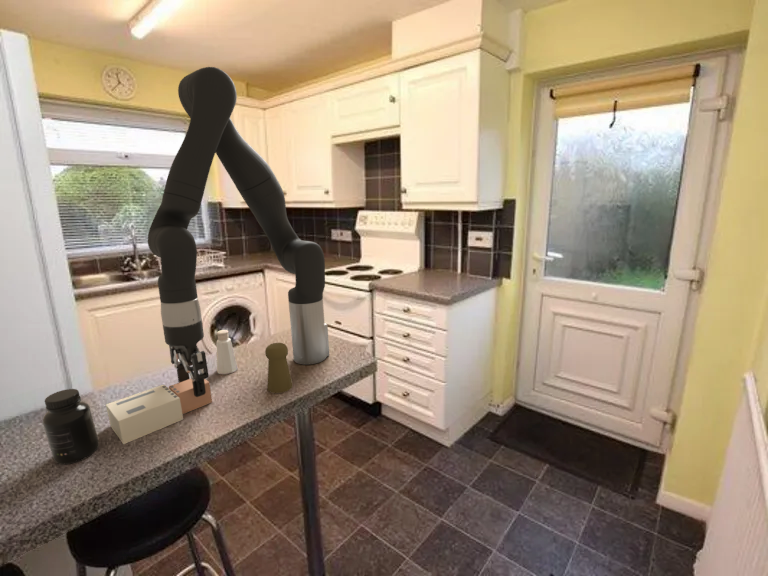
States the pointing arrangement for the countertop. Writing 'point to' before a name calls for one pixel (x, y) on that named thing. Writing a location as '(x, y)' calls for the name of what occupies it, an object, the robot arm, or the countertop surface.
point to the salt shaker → (225, 354)
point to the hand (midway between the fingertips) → (192, 388)
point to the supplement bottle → (69, 427)
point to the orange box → (191, 395)
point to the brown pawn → (278, 368)
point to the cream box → (144, 413)
